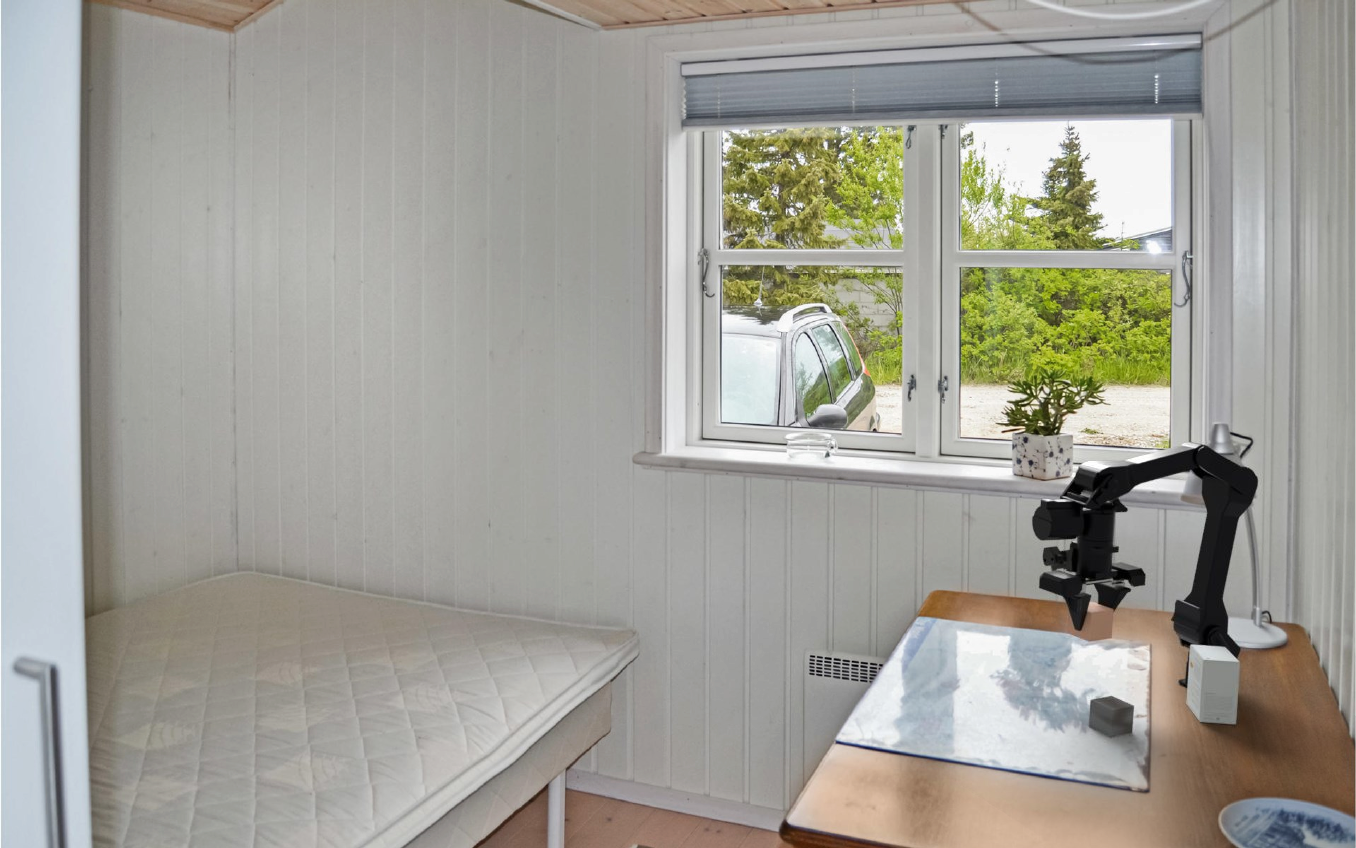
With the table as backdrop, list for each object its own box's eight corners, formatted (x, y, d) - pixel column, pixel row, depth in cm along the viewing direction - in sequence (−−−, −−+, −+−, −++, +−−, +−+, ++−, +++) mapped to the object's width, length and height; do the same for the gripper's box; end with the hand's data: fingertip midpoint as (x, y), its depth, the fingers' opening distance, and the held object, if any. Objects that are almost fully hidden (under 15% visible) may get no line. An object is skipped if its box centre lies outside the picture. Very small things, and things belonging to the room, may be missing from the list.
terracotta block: (1088, 629, 183) (1090, 601, 183) (1111, 638, 179) (1113, 609, 178) (1067, 633, 181) (1068, 604, 181) (1089, 641, 177) (1091, 612, 176)
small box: (1236, 726, 170) (1241, 662, 168) (1198, 722, 171) (1203, 659, 169) (1221, 707, 177) (1226, 646, 176) (1185, 704, 179) (1189, 643, 177)
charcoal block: (1109, 722, 171) (1111, 695, 170) (1132, 733, 167) (1134, 705, 166) (1088, 727, 169) (1090, 699, 168) (1110, 738, 165) (1112, 710, 164)
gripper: (1099, 523, 189) (1094, 609, 191) (1018, 532, 181) (1013, 621, 183) (1150, 537, 179) (1144, 627, 181) (1066, 547, 171) (1061, 640, 173)
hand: (1089, 628), depth 180 cm, fingers closed on terracotta block, 5 cm apart
